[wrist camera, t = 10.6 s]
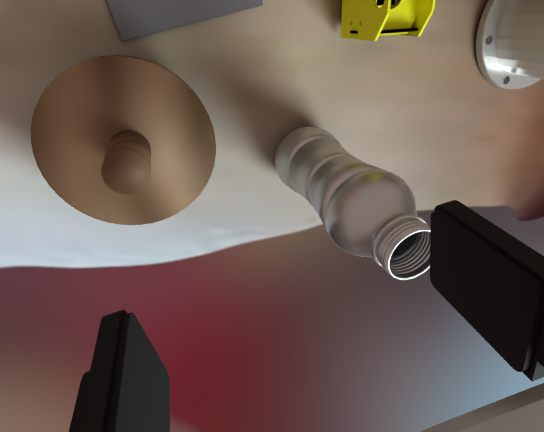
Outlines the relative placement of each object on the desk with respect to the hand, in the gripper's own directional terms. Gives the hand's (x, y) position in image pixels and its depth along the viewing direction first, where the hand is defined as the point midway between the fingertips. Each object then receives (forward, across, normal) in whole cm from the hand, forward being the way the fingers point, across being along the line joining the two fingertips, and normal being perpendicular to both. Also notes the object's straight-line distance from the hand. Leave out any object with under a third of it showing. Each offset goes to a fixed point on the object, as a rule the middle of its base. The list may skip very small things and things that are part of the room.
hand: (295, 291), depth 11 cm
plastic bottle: (+28, -8, +7) cm, 29 cm away
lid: (+22, +7, 0) cm, 23 cm away
